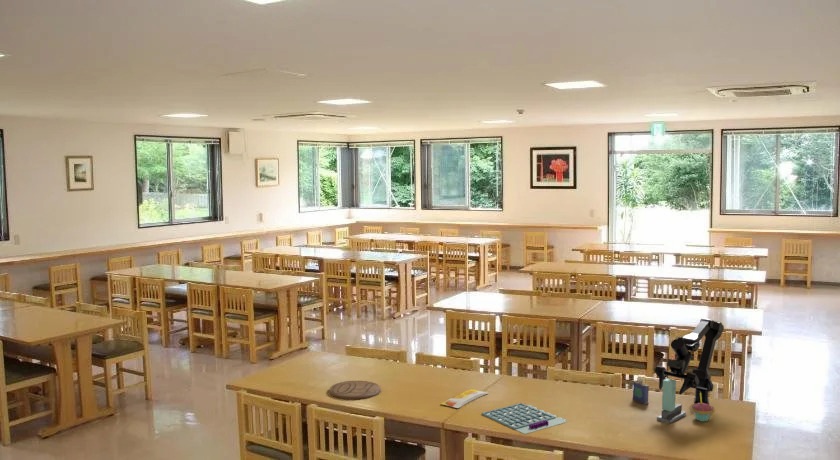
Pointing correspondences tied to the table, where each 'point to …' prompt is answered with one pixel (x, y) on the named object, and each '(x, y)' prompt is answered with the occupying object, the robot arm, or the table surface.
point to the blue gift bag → (640, 392)
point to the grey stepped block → (672, 414)
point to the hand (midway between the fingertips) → (669, 391)
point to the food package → (464, 398)
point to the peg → (669, 394)
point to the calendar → (524, 418)
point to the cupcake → (702, 410)
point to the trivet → (354, 390)
